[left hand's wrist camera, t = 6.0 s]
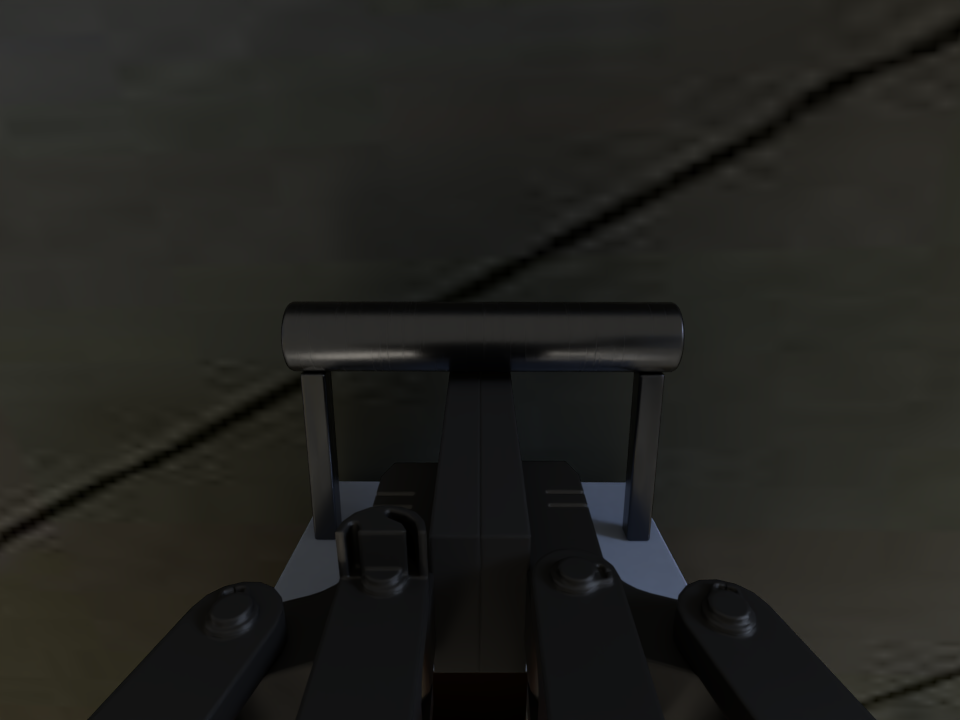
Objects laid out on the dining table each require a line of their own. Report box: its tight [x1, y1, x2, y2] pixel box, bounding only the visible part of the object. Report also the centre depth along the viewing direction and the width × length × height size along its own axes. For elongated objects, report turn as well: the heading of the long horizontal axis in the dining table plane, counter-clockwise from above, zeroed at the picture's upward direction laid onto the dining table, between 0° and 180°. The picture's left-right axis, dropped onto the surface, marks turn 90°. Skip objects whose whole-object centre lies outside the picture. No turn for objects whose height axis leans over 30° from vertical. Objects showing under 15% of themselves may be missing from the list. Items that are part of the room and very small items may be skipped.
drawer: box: [274, 302, 687, 720], centre depth 16 cm, size 21×9×6 cm, turn 0°
